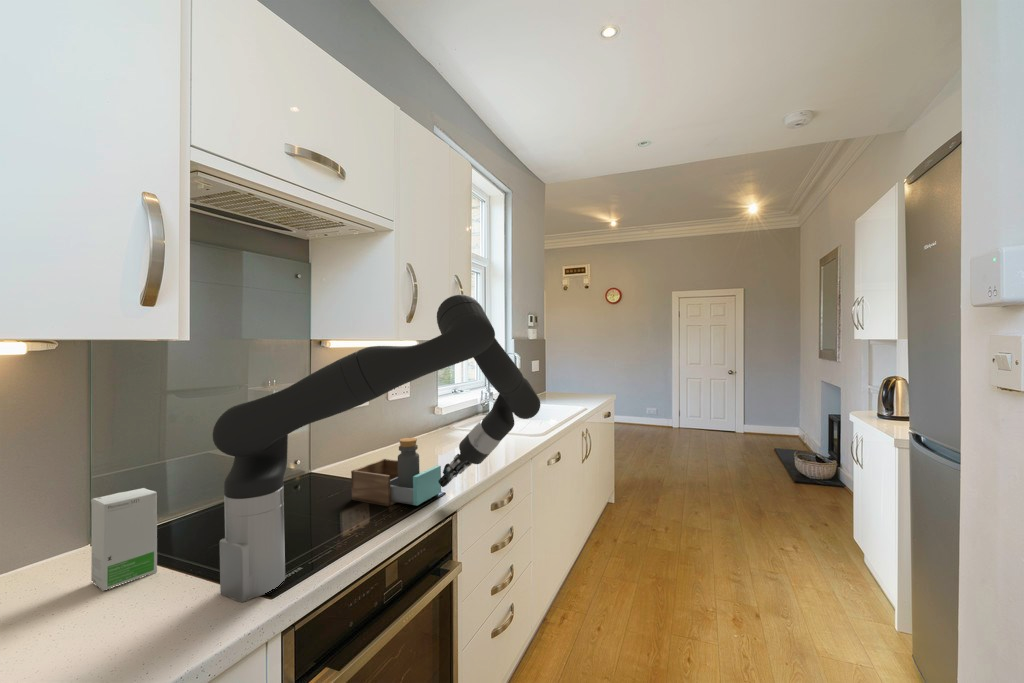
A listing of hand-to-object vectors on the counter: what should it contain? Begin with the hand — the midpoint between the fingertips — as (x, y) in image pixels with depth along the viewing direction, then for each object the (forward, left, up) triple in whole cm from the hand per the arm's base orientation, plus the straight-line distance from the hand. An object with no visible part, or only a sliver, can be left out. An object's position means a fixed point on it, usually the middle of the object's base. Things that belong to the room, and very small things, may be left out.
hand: (441, 483), depth 117 cm
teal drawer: (0, +10, -4) cm, 11 cm away
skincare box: (-54, +35, -6) cm, 65 cm away
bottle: (0, +11, -4) cm, 11 cm away
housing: (0, +19, -5) cm, 20 cm away
